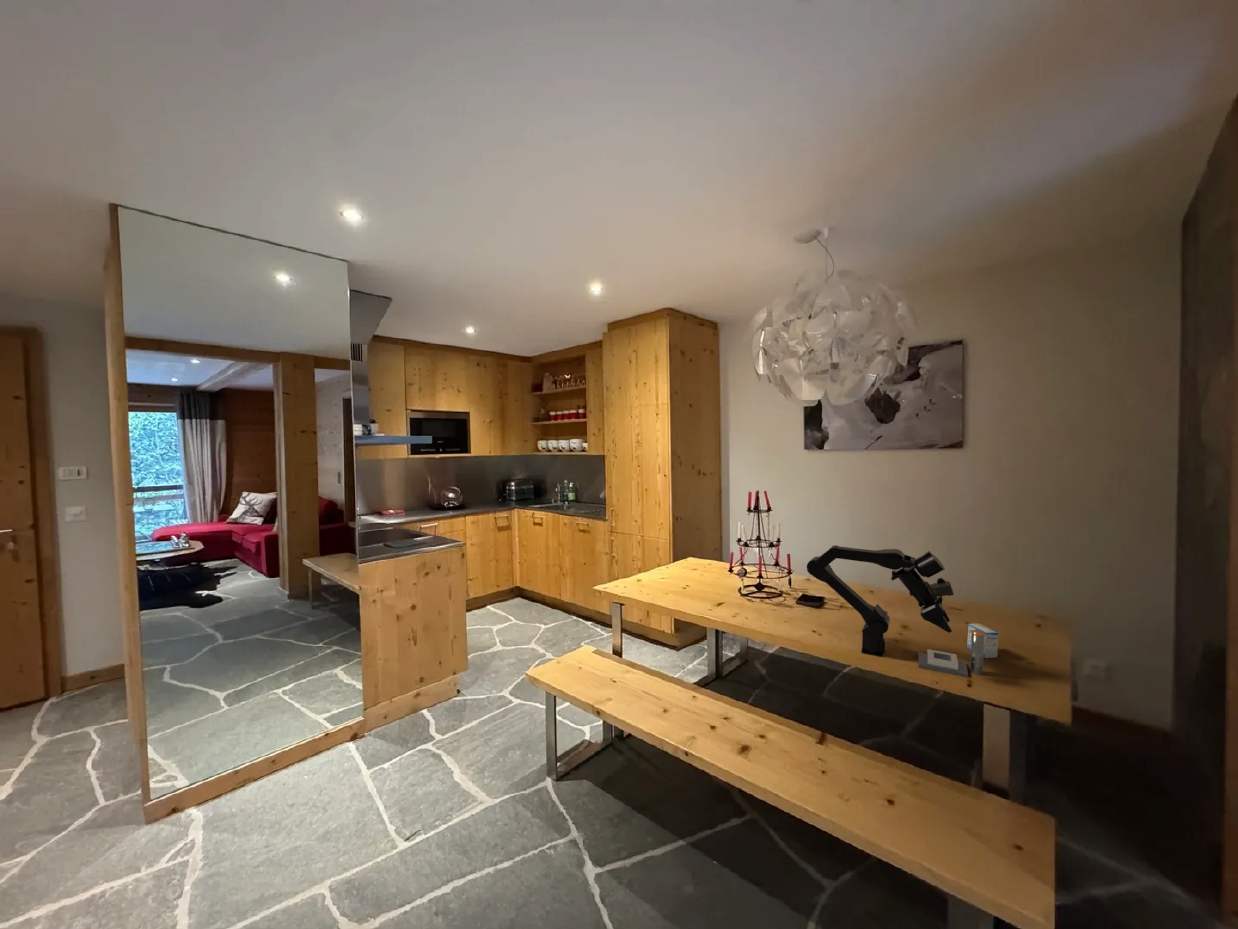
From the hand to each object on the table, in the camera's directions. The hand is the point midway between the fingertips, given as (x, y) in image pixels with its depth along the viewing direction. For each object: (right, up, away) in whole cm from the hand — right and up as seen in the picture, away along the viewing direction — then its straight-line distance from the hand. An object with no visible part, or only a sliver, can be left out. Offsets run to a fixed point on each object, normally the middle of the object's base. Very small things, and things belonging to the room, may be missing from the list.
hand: (949, 626), depth 158 cm
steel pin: (+6, -13, -3) cm, 15 cm away
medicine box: (+18, -13, +11) cm, 24 cm away
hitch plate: (-1, -13, +2) cm, 13 cm away
